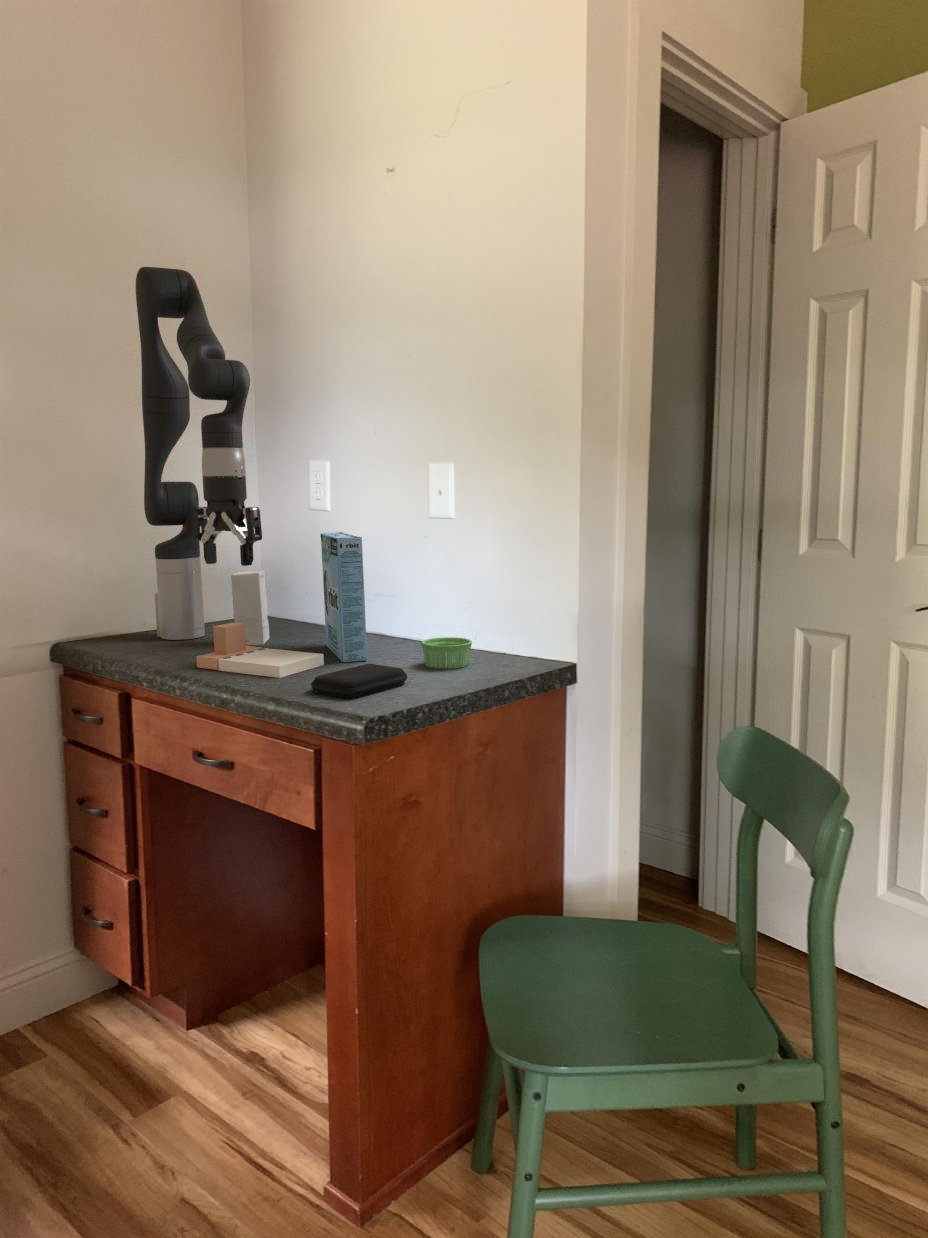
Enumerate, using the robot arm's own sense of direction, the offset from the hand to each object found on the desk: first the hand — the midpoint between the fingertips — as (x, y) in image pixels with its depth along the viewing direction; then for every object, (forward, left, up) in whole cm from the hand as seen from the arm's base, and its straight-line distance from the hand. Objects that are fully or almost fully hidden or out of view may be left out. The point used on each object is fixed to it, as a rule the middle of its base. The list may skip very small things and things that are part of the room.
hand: (228, 564), depth 164 cm
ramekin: (+37, +16, -18) cm, 44 cm away
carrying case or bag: (+33, -6, -19) cm, 38 cm away
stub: (0, 0, -18) cm, 18 cm away
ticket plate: (+10, 0, -18) cm, 21 cm away
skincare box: (-11, +18, -18) cm, 28 cm away
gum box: (+13, +17, -18) cm, 28 cm away
